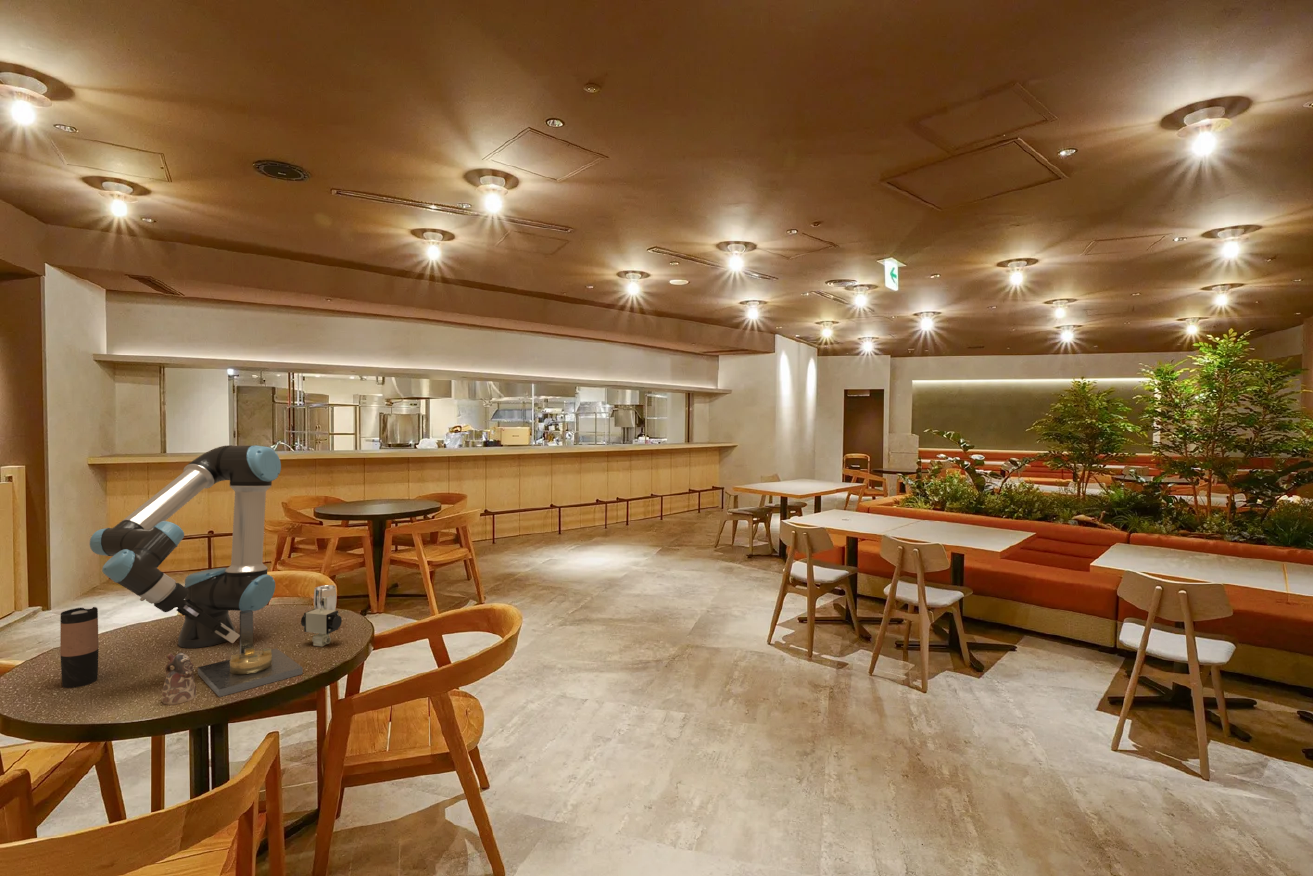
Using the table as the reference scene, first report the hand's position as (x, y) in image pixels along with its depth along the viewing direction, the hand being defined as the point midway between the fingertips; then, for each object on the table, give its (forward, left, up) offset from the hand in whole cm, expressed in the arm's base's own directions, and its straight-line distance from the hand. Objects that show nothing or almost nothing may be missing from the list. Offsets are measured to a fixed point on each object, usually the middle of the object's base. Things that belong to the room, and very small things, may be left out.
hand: (235, 638), depth 179 cm
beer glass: (-15, +30, -9) cm, 35 cm away
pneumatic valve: (-1, +24, -9) cm, 26 cm away
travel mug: (-19, -32, -9) cm, 38 cm away
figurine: (+13, -16, -9) cm, 23 cm away
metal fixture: (+6, +2, -6) cm, 9 cm away
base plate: (+9, +1, -8) cm, 12 cm away
